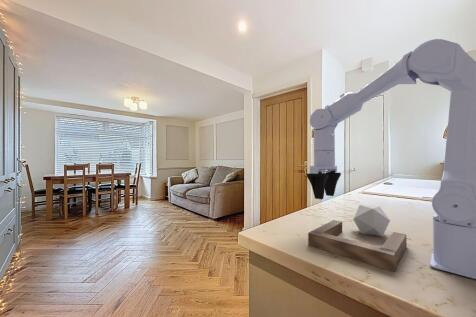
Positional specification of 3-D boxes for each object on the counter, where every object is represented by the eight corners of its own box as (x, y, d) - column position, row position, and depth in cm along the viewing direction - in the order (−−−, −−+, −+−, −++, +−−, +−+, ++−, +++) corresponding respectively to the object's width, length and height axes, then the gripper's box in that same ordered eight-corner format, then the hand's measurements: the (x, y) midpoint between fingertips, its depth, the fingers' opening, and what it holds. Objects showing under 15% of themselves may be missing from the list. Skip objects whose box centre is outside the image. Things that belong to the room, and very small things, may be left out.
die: (386, 233, 60) (364, 204, 65) (404, 227, 53) (378, 194, 58) (362, 244, 59) (342, 214, 64) (377, 239, 52) (353, 205, 57)
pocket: (406, 246, 49) (406, 234, 49) (394, 271, 38) (393, 255, 38) (333, 230, 61) (333, 219, 61) (308, 244, 50) (308, 232, 50)
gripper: (321, 152, 69) (321, 193, 68) (299, 150, 58) (299, 198, 58) (343, 151, 64) (344, 195, 63) (324, 149, 53) (324, 202, 53)
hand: (324, 197), depth 60 cm, fingers open, 7 cm apart
